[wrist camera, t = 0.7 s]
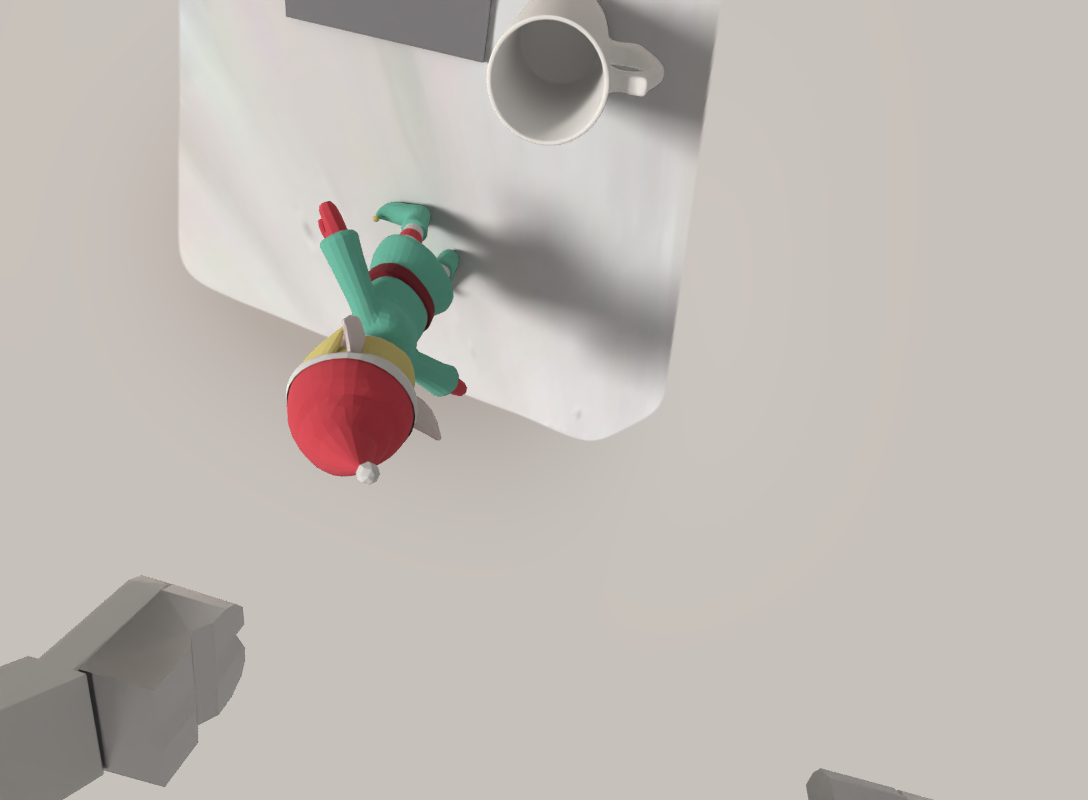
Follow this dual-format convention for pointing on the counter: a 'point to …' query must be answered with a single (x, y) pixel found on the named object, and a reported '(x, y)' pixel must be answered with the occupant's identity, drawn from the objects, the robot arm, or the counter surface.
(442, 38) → the mat
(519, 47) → the mug
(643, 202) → the counter surface
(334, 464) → the toy
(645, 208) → the counter surface
